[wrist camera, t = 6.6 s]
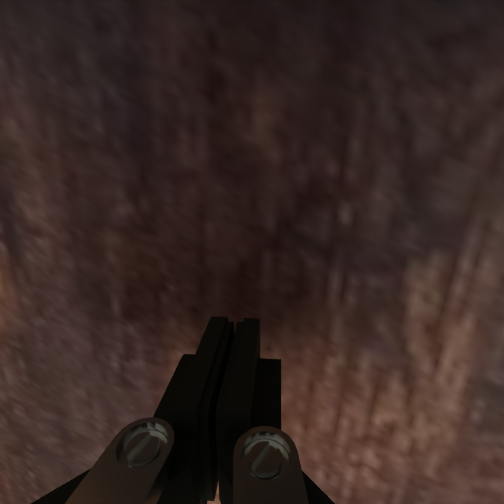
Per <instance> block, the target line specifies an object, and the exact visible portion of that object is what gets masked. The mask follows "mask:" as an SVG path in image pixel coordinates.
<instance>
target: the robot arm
mask: <svg viewBox="0 0 504 504" xmlns="http://www.w3.org/2000/svg"><path fill="white" fill-rule="evenodd" d="M218 481H219V500H220V502H221V504H335V503H334V502H333V501H332V500H331V499H330V498H329V497H328V496H327V495H326V494H325V493H324V492H323V491H322V490H321V489H320V488H319V487H318V486H317V485H316V484H315V483H314V482H313V481H312V480H311V479H310V478H309V477H308V476H307V475H306V474H305V473H304V472H303V471H302V469H301V465H300V460H299V455H298V451H297V449H296V446H295V443H294V442H293V441H292V439H291V438H290V437H289V435H287V434H286V433H284V432H283V431H282V430H281V359H264V358H260V319H256V318H244V320H243V322H238V323H237V326H236V330H235V334H234V323H233V322H228V318H227V317H211V318H210V320H209V323H208V325H207V328H206V330H205V332H204V335H203V337H202V339H201V342H200V344H199V347H198V349H197V351H196V354H195V355H193V354H184V355H183V356H182V358H181V360H180V362H179V364H178V366H177V368H176V370H175V372H174V374H173V376H172V378H171V381H170V383H169V385H168V387H167V389H166V391H165V393H164V395H163V397H162V399H161V401H160V403H159V406H158V408H157V410H156V412H155V414H154V416H153V417H149V418H143V419H139V420H137V421H135V422H132V423H130V424H129V425H127V426H126V427H125V428H123V429H122V430H121V431H120V432H119V433H118V434H117V435H116V436H115V438H114V439H113V440H112V442H111V443H110V444H109V446H108V447H107V448H106V449H105V451H104V452H103V453H102V455H101V456H100V457H99V459H98V460H97V461H96V463H95V464H94V465H93V467H92V468H91V469H89V470H87V471H86V472H84V473H82V474H81V475H79V476H77V477H75V478H74V479H72V480H70V481H69V482H67V483H65V484H63V485H62V486H60V487H58V488H57V489H55V490H53V491H52V492H50V493H48V494H46V495H45V496H43V497H41V498H40V499H38V500H36V501H34V502H33V503H31V504H207V501H214V499H215V495H216V490H217V485H218Z"/></svg>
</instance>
